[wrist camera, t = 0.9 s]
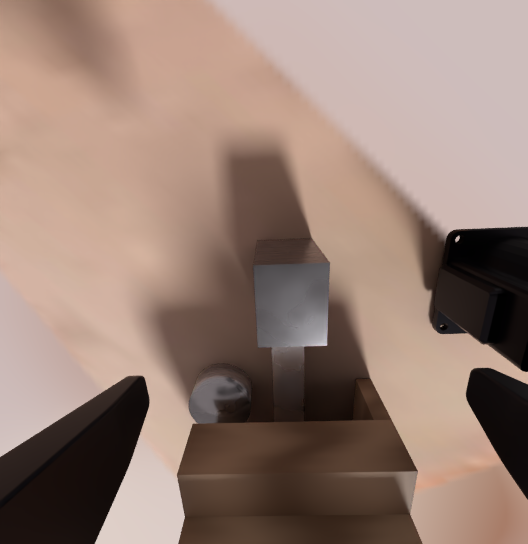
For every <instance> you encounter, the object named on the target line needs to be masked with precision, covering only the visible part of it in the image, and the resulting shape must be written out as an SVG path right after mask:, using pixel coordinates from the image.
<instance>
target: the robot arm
mask: <svg viewBox="0 0 528 544" xmlns="http://www.w3.org/2000/svg"><path fill="white" fill-rule="evenodd" d="M457 236H460V239H459V241H457V242H455V239H456V237H457ZM434 307H435V311H434V317H433V323H432V327H433V328H434V329H435V330H436V331H437V332H438V333H440V334H459V333H468V334H470V335H471V336H472V337H474V338H475V339H476V340H477V341H479V342H480V343H481V344H487V345H489V346H490V347H491V348H493V349H494V350H495V351H497V352H498V353H499V354H501V355H502V356H503V357H505V358H506V359H507V360H509V361H510V362H511V363H513V364H514V365H515V366H517V367H518V368H519V369H520V370H522V371H525V372H528V227H511V228H485V229H461V230H460V229H459V230H453V231H452V232H450V233H449V234H448V236H447V238H446V244H445V250H444V256H443V262H442V267H441V268H440V270H439V276H438V283H437V289H436V295H435V301H434ZM443 323H444V326H442V327H440V326H441V325H442V324H443ZM466 398H467V401H468V403H469V405H470V407H471V409H472V411H473V412H474V414H475V416H476V418H477V419H478V421H479V423H480V425H481V426H482V428H483V430H484V432H485V433H486V435H487V437H488V439H489V440H490V442H491V444H492V446H493V447H494V449H495V451H496V453H497V454H498V456H499V458H500V459H501V461H502V462H503V464H504V466H505V467H506V469H507V470H508V472H509V473H510V475H511V476H512V478H513V479H514V480H515V482H516V483H517V485H518V486H519V488H520V489H521V491H522V492H523V494H524V495H525V496H526V498H527V499H528V384H525V383H523V382H521V381H518V380H516V379H514V378H512V377H509V376H507V375H505V374H503V373H500V372H498V371H496V370H494V369H491V368H475V369H473V370H472V371H471V372H470V377H469V381H468V386H467V390H466ZM148 408H149V395H148V390H147V386H146V381H145V378H144V377H143V376H128V377H126V378H124V379H123V380H121V381H120V382H118V383H116V384H115V385H113V386H112V387H110V388H108V389H107V390H105V391H104V392H102V393H101V394H99V395H97V396H96V397H94V398H93V399H91V400H90V401H88V402H87V403H85V404H83V405H82V406H80V407H79V408H77V409H75V410H74V411H72V412H71V413H69V414H67V415H66V416H64V417H63V418H61V419H60V420H58V421H56V422H55V423H53V424H52V425H50V426H49V427H47V428H45V429H44V430H42V431H41V432H39V433H38V434H36V435H34V436H33V437H31V438H30V439H28V440H27V441H25V442H23V443H22V444H20V445H19V446H17V447H15V448H14V449H12V450H11V451H9V452H8V453H6V454H4V455H3V456H1V457H0V544H95V542H96V539H97V537H98V535H99V532H100V530H101V528H102V526H103V524H104V521H105V519H106V517H107V514H108V512H109V510H110V508H111V506H112V503H113V501H114V499H115V497H116V494H117V492H118V490H119V487H120V485H121V483H122V480H123V478H124V476H125V474H126V471H127V469H128V467H129V464H130V461H131V459H132V456H133V453H134V449H135V447H136V444H137V441H138V438H139V435H140V432H141V429H142V426H143V423H144V420H145V417H146V414H147V411H148Z"/></svg>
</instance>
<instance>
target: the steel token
mask: <svg viewBox="0 0 528 544" xmlns="http://www.w3.org/2000/svg"><path fill="white" fill-rule="evenodd" d="M251 396H252V384H251V380H250V378H249V377H248V375H247V374H246V373H245V372H244V371H243V370H241V369H240V368H238V367H236V366H233V365H230V364H215V365H212V366H209V367H207V368H206V369H204V370H203V371H202V372H201V373H200V374H199V376H198V378H197V380H196V383H195V386H194V389H193V391H192V394H191V397H190V400H189V411H190V413H191V416H192V417H193V419H194V420H195V421H196V422H197V423H198V424H206V423H245V422H246V420H247V419H248V417H249V415H250V410H251Z"/></svg>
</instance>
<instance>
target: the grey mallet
mask: <svg viewBox="0 0 528 544" xmlns="http://www.w3.org/2000/svg"><path fill="white" fill-rule="evenodd" d="M253 271H254V289H255V307H256V325H257V343H258V348H263V347H272V373H273V399H274V422H304V346H327V331H328V301H329V271H330V262H329V261H328V260H327V258H326V257H325V255H324V254H323V253H322V251H321V250H320V249H319V247H318V246H317V245H316V243H315V242H314V241H313V239H286V240H260V241H257V246H256V252H255V258H254V264H253Z"/></svg>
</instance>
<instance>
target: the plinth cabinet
mask: <svg viewBox="0 0 528 544" xmlns="http://www.w3.org/2000/svg"><path fill="white" fill-rule="evenodd" d="M417 473H418V471H417V469H416V467H415V465H414V463H413V461H412V459H411V457H410V455H409V453H408V451H407V449H406V447H405V445H404V443H403V441H402V439H401V438H400V436H399V434H398V432H397V430H396V428H395V426H394V424H393V422H392V420H391V418H390V416H389V414H388V412H387V410H386V408H385V406H384V404H383V402H382V400H381V398H380V396H379V394H378V392H377V391H376V389H375V387H374V385H373V383H372V381H371V379H356V384H355V398H354V411H353V421H306V422H256V423H206V424H193V425H192V428H191V431H190V435H189V438H188V441H187V444H186V448H185V451H184V454H183V457H182V461H181V464H180V467H179V470H178V473H177V478H178V483H179V488H180V493H181V498H182V503H183V509H184V514H185V519H184V523H183V527H182V531H181V535H180V540H179V543H178V544H422V541H421V539H420V537H419V534H418V532H417V530H416V527H415V525H414V522H413V520H412V518H411V516H410V512H411V506H412V501H413V495H414V490H415V484H416V479H417Z"/></svg>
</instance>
